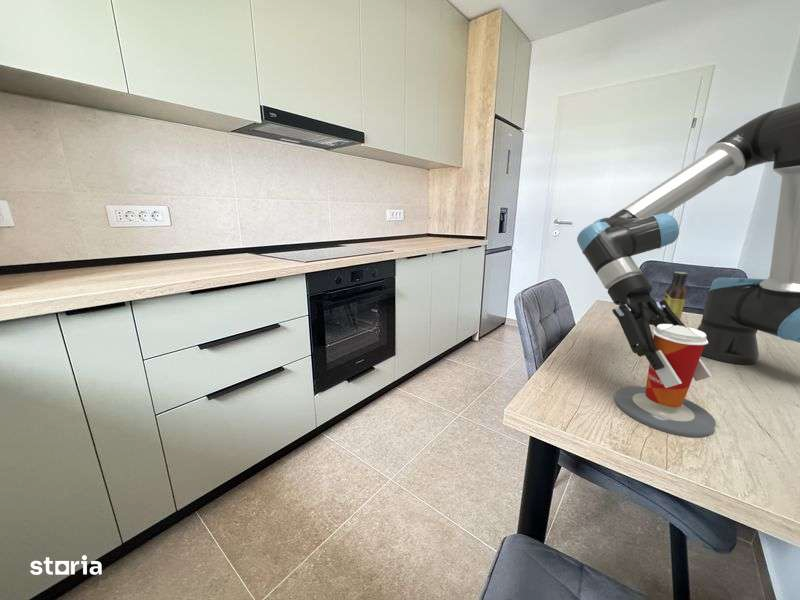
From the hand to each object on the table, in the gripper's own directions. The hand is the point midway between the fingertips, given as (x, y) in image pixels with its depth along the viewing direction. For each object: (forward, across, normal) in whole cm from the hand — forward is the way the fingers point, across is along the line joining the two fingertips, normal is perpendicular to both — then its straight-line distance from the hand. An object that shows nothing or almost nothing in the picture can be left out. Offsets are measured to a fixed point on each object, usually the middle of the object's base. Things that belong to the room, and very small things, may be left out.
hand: (689, 382), depth 61 cm
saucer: (+4, 0, -8) cm, 9 cm away
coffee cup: (+2, 0, -7) cm, 7 cm away
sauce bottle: (-24, -68, -37) cm, 81 cm away
